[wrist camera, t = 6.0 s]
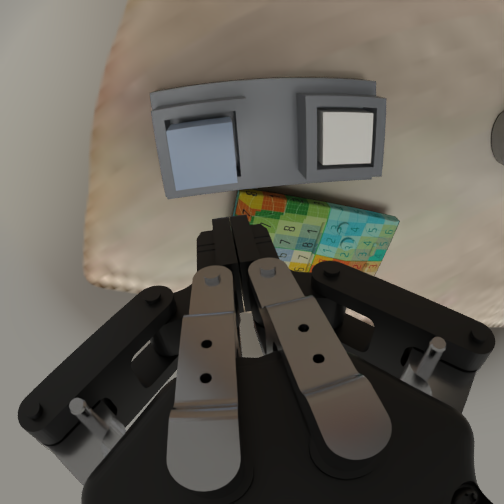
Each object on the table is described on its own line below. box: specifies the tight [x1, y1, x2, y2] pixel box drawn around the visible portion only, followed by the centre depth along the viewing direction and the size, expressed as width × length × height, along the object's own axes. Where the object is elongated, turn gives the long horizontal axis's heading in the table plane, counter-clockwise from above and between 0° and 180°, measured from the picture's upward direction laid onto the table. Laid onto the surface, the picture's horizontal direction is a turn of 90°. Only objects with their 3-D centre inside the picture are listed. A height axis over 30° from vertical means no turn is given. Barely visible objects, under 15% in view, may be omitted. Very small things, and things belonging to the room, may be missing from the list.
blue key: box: [166, 117, 238, 191], centre depth 24 cm, size 5×5×3 cm
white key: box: [317, 108, 373, 165], centre depth 27 cm, size 5×5×3 cm
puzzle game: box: [233, 189, 400, 276], centre depth 37 cm, size 12×5×20 cm
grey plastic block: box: [150, 77, 386, 199], centre depth 28 cm, size 22×11×6 cm, turn 94°
